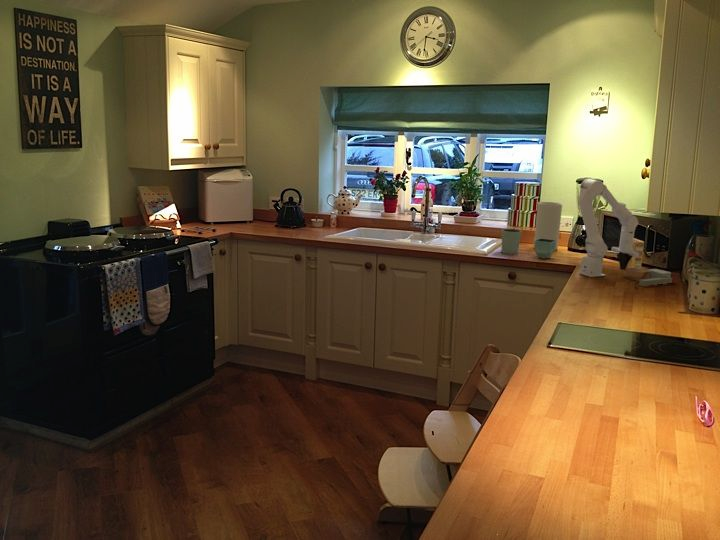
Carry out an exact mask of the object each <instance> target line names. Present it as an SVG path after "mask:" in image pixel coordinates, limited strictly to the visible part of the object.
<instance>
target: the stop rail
mask: <svg viewBox="0 0 720 540" xmlns="http://www.w3.org/2000/svg"><path fill="white" fill-rule="evenodd" d="M673 279H674V278H673V277H662V278H652V279H642V280H639V281H638V286H640V285H641V286H640V287H643V286H644V287H650V286H649V285H654V286H658V285H657V284H663V285H668V284H667V283H673Z"/></svg>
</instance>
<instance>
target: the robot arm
mask: <svg viewBox="0 0 720 540" xmlns="http://www.w3.org/2000/svg"><path fill="white" fill-rule="evenodd" d="M579 189H580V190H579V195H578V200H577V201H578V205H579V209H580V214H581V218H582V220H583V224H584V225H583V226H584V229H585V232H586V238H585V246H584V247H585V248H584V249H585V251H586V252H587V253H586V254H587V255H586V256H584V257H582V258H581V261H580V268H579V271H578V274H580V275H584V276H587V277H589V278H593V277H595V278H596V277H605V276H606V275H607V274H606V273H605V274H604V273H602V271H603V266H604V265H603V264H604V257H605V255H607V252H608V249H609V248H608V246H607V244H606V243H605V241H604V239H603V237H602V236H601V234H600V232H599V231H600V230H599V226H598V224H597V218H596V215H595V211H594V207H593V202H594V200H595V199H596V198H597V197H599V196H601V198H603V199H604V200H605V202H607V204H608V205H610V207H611V212H612V213H613V214H614V215H615V216H616V218H617V219H618V221H619V223H620V225H621V228H620V229H621V230H620V237H619V245H618V246H612V247H611V252H615V253H617V254H616V257H617V259H618V264H619V268H620V270H624V271H626V270H625V269H626V267H627V264H628V262H629V261H630V259H631V258H632V256H634V257H639V253H638V252H635V251H633V250H632V246H633V239H634V237H635V231H636V228H637V226H639V221H638V220H639V219H638V218H637V216H636V215H633V212H632V211H630V210H629V209H628V207H626V206H627V205H626V203H624V202H619V201H618V200H617V198H616V197H615V196H614V195H613V194H612V192H611V191H610V190H609V189H608V187H607V185H606V184H604V182H603V181H601V180H596V179H593V178H585V179H584V180H582V182H581V183H580V185H579Z"/></svg>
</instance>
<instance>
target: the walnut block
mask: <svg viewBox="0 0 720 540" xmlns="http://www.w3.org/2000/svg"><path fill="white" fill-rule="evenodd" d="M647 270H648V269H642V268H641V269H639V268H628V269H627V270H625V271H626V272H625V278H626V279H628V280H632V281H635V280H636V282H639V280H642V279H649V277H650V271H647Z"/></svg>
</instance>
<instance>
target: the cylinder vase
mask: <svg viewBox="0 0 720 540" xmlns="http://www.w3.org/2000/svg"><path fill="white" fill-rule="evenodd" d="M536 211H537V213H536V219H535V220H536V221H535V232H534V240H533V248H534V249H535V240H537V239H539V238H541V239H549V240H556V245H555V249H554V252H555V251H557V250H558V245H559V237H560V229H561V220H562V219H561V218H562V211H563V203H560V202H553V201H538V203H537V210H536Z"/></svg>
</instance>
